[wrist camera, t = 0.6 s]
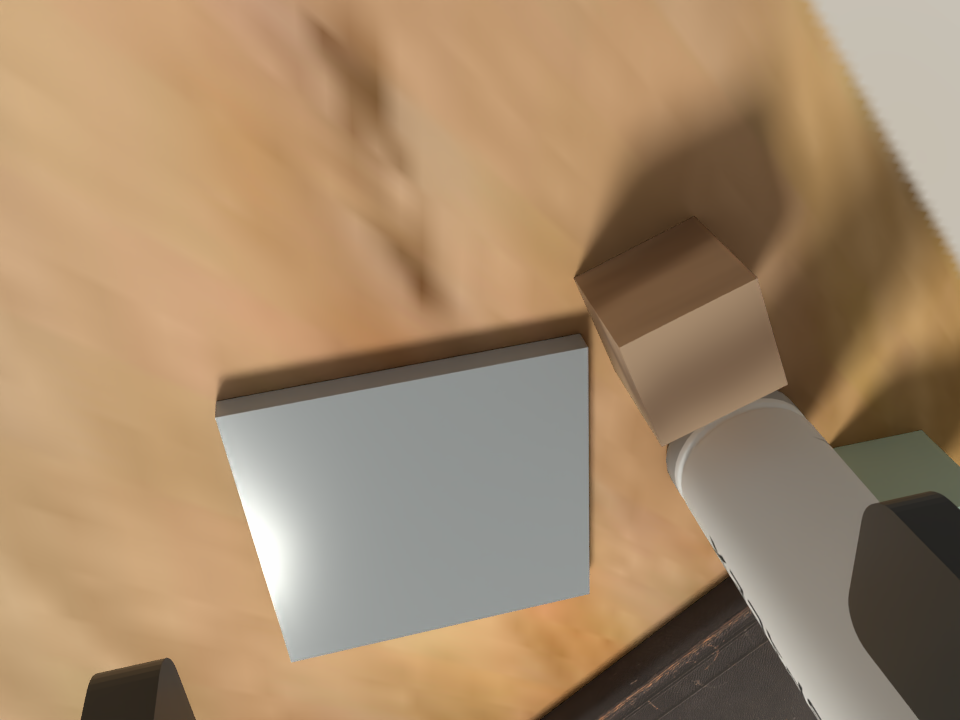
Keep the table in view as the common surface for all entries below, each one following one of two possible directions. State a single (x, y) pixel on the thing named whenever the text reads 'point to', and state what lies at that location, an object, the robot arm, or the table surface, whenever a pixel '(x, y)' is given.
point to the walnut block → (684, 329)
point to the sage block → (903, 467)
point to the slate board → (417, 493)
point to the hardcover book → (695, 672)
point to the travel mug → (788, 546)
